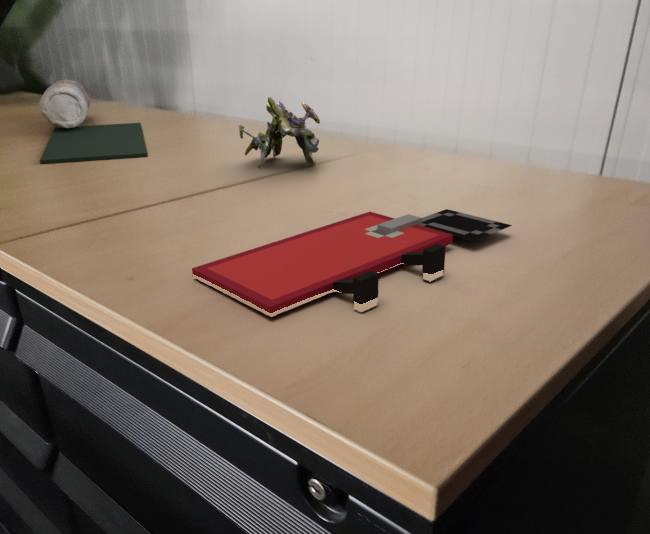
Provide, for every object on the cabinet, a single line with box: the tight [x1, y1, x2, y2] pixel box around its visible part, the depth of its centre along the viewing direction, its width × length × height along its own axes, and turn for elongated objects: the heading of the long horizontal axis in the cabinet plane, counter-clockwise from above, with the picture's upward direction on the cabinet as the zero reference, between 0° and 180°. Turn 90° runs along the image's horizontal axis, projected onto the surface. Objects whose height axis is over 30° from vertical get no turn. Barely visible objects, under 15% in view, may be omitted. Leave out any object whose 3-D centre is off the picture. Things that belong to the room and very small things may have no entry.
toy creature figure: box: [238, 96, 321, 169], centre depth 91 cm, size 11×11×12 cm
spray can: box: [38, 78, 91, 128], centre depth 121 cm, size 8×8×20 cm
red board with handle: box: [191, 208, 513, 313], centre depth 58 cm, size 30×3×15 cm
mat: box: [39, 122, 149, 165], centre depth 109 cm, size 16×29×1 cm, turn 17°
